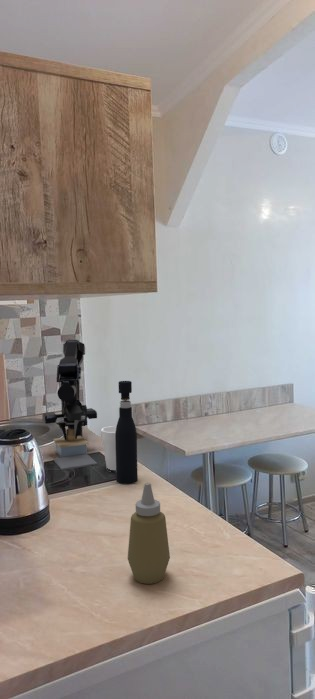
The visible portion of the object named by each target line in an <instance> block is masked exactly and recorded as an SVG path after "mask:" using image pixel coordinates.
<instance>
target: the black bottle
mask: <svg viewBox="0 0 315 699" xmlns="http://www.w3.org/2000/svg"><path fill="white" fill-rule="evenodd" d="M132 388H133V386H132V381H131V380H120V381H118V394H120V401H119V408H118V413H119V414H118V421H117V424H116V425H115V426H116V433H115V442H116V472H115V476H116V477H115V478H116V479H115V480H116V483H117V484H120V485H130V484H131V485H132V484H135V483H137V482H138V480H139V478H138V477H139V475H138V474H139V472H138V432H137V428H136V424H135V421H134V417H133V412H132V411H133V408H132V405H131V404H132V402H131V399H130V394H131V393H132Z"/></svg>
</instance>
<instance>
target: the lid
mask: <svg viewBox="0 0 315 699" xmlns="http://www.w3.org/2000/svg"><path fill="white" fill-rule="evenodd" d="M66 436H67V440H65V439H64V437H59V438H53V442H54V443H55V445H56V444H57V445H58V446H59V447H60V448H63V447H71V446H78V445H86V446H87V445H89V441H88V440H86V439H85V438H84V437H82V436H77V439H75V436H74V429H68V428H67V429H66Z"/></svg>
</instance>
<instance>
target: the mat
mask: <svg viewBox="0 0 315 699" xmlns="http://www.w3.org/2000/svg"><path fill="white" fill-rule="evenodd" d="M53 461H54V464H55V465H56V466H57V467H58V468H59V469H60V471H66V470H73V469H78V468H80V469H81V468H85V467H92V466H91V465H94V466H96V465H95V464H97V465H98V462H96V461H95V459H93V458H92V457H91V456H90V455H89V454H88V453H87V454H82V455H75V456H68V457H60V456H59V457H55V458H53Z"/></svg>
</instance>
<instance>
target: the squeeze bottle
mask: <svg viewBox="0 0 315 699" xmlns="http://www.w3.org/2000/svg"><path fill="white" fill-rule="evenodd" d="M128 537H129V538H128V546H127V547H128V549H127V561H128V564H129V567H130V570H131V572H132V575H133V578H134V580H136V581H137V582H138V583H141V584H148V585H151V584H155V583H156V584H157V583H159V582H161V581H162V580H163V579H164V577H165V574H166V571H167V568H168V565H169V562H170V559H171V556H170V547H169V546H170V545H169V538H168V529H167V520H166V516H165V514H164V512H162V511H161V503H160V501H159V500H158V499H155V496H154V492H153V489H152V484H151V483H150V482H149V483H148V482H147V483H144V485H143V490H142V494H141V499H139V500H137V501H136V503H135V512H134V513H133V514H132V515H131V516H130V525H129V536H128Z"/></svg>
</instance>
